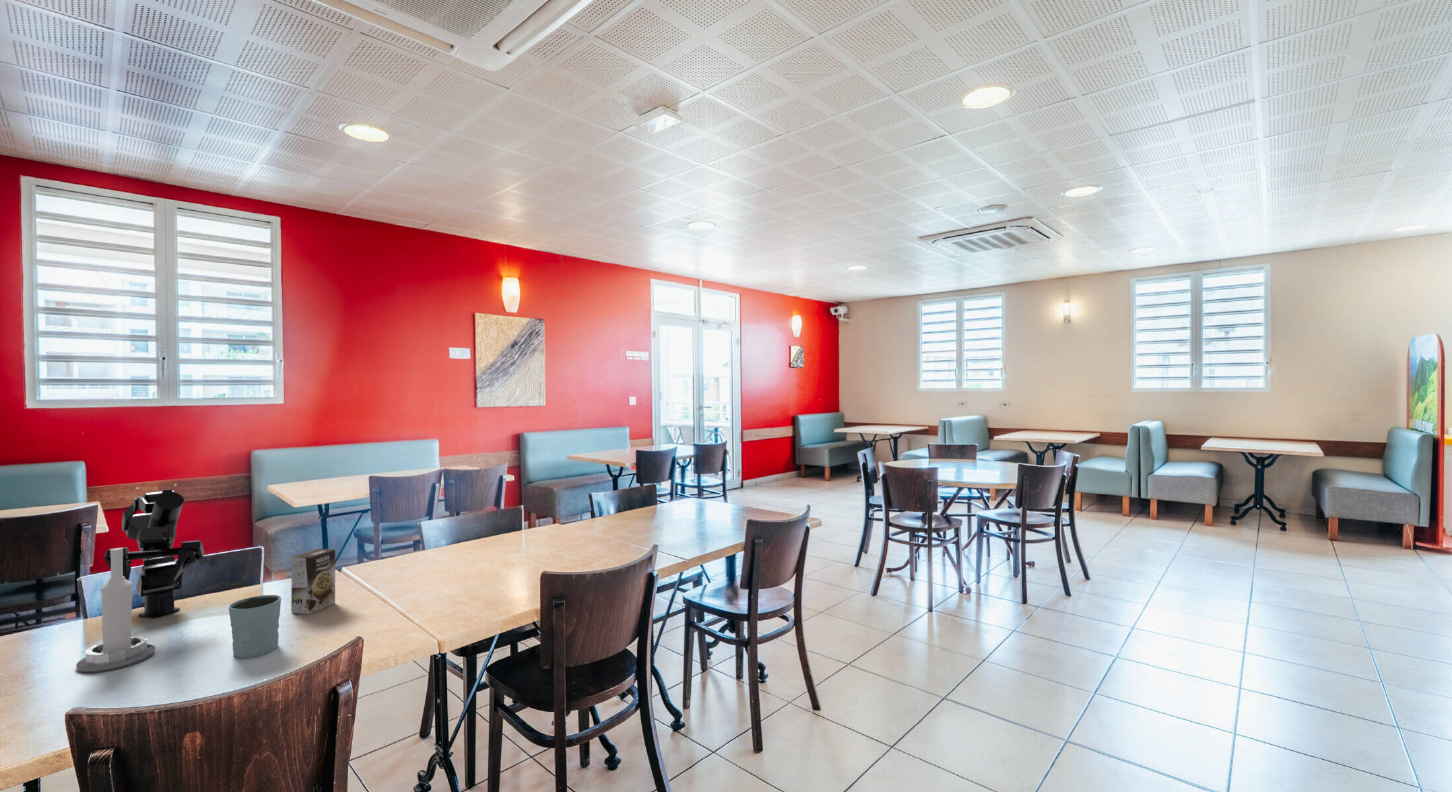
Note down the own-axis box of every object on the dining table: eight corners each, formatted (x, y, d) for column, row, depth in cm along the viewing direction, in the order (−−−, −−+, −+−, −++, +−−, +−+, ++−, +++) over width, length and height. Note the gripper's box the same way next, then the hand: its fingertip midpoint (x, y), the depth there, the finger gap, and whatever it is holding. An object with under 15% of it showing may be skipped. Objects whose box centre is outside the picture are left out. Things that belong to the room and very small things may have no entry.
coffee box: (309, 614, 171) (309, 557, 170) (290, 612, 172) (290, 556, 172) (336, 603, 180) (336, 549, 179) (318, 601, 181) (317, 547, 181)
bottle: (94, 660, 140) (94, 552, 139) (116, 650, 145) (115, 546, 145) (118, 660, 140) (117, 552, 140) (139, 650, 145) (138, 546, 145)
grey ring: (61, 669, 138) (60, 654, 137) (129, 645, 150) (129, 631, 150) (103, 676, 135) (103, 660, 134) (169, 651, 147) (169, 636, 147)
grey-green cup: (239, 663, 141) (239, 612, 141) (221, 653, 146) (221, 603, 146) (289, 647, 150) (289, 599, 149) (270, 638, 155) (270, 591, 155)
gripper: (105, 517, 155) (89, 572, 146) (201, 510, 165) (191, 561, 155) (117, 541, 162) (102, 595, 153) (207, 533, 172) (199, 583, 162)
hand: (149, 583), depth 156 cm, fingers open, 9 cm apart
